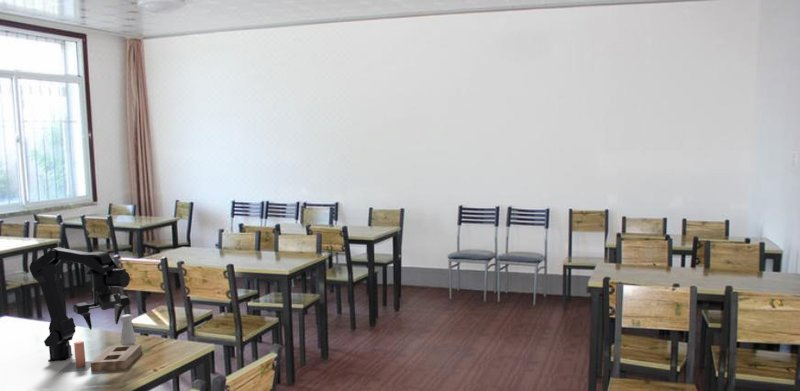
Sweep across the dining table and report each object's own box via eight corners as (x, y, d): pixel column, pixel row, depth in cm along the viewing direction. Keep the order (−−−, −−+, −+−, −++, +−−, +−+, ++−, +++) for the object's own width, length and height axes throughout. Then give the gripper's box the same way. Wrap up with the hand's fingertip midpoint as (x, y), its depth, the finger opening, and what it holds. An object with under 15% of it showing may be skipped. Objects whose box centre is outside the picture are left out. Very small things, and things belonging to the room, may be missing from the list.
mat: (57, 373, 221) (57, 372, 221) (69, 363, 231) (69, 362, 231) (86, 371, 222) (86, 370, 222) (97, 361, 232) (97, 360, 232)
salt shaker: (130, 349, 245) (128, 317, 244) (117, 348, 246) (115, 317, 245) (139, 344, 251) (137, 313, 250) (126, 343, 252) (124, 312, 251)
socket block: (91, 372, 222) (90, 362, 221) (110, 354, 239) (109, 346, 239) (125, 369, 223) (125, 360, 222) (141, 352, 240) (141, 344, 240)
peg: (74, 368, 225) (72, 344, 224) (78, 365, 228) (76, 341, 227) (83, 367, 225) (81, 343, 225) (87, 364, 229) (85, 340, 228)
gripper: (80, 294, 218) (83, 337, 219) (134, 285, 230) (137, 326, 232) (71, 289, 226) (74, 330, 227) (124, 280, 238) (126, 319, 240)
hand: (103, 326), depth 231 cm, fingers open, 9 cm apart
